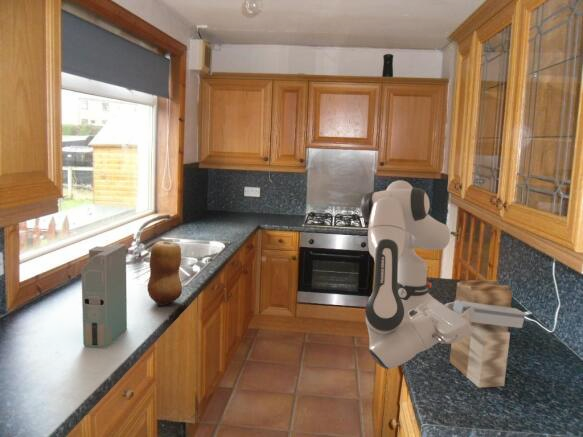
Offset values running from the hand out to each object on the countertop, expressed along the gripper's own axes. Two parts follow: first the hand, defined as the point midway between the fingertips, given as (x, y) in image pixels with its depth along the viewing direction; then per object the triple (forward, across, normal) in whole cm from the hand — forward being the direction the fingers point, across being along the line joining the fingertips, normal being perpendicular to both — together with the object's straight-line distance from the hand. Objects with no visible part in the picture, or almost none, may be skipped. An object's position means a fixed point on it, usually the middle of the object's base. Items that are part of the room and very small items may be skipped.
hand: (466, 305), depth 143 cm
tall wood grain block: (-3, +5, +25) cm, 26 cm away
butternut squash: (-85, +78, -22) cm, 117 cm away
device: (-101, +45, -30) cm, 114 cm away
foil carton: (+3, 0, +8) cm, 8 cm away
